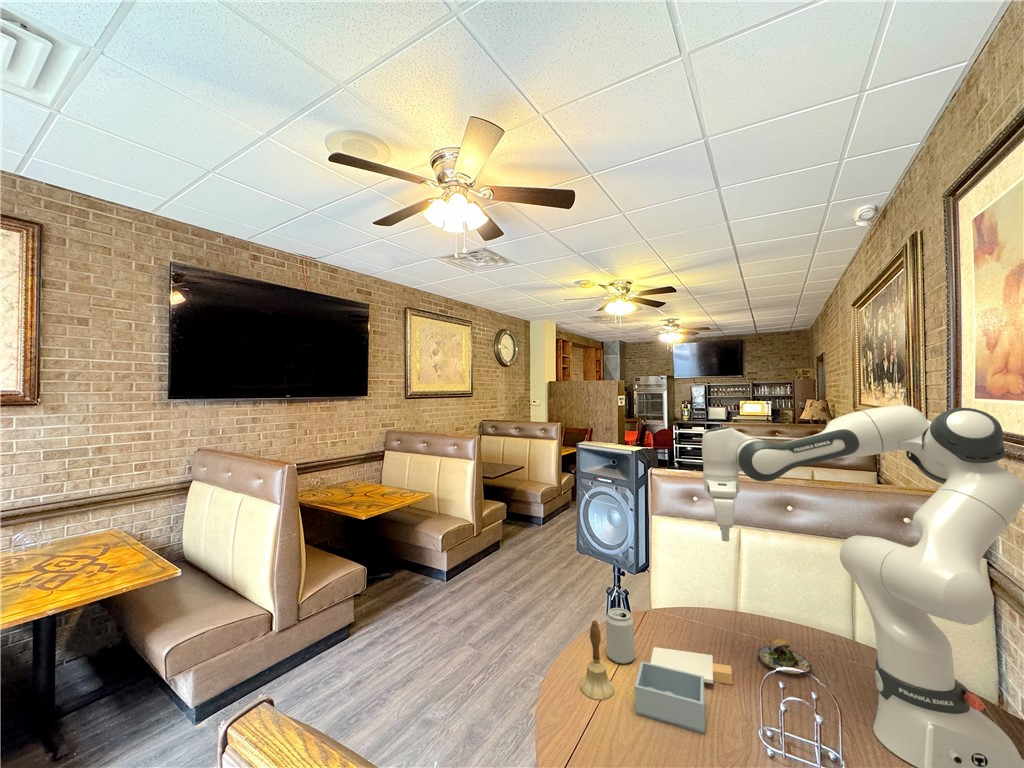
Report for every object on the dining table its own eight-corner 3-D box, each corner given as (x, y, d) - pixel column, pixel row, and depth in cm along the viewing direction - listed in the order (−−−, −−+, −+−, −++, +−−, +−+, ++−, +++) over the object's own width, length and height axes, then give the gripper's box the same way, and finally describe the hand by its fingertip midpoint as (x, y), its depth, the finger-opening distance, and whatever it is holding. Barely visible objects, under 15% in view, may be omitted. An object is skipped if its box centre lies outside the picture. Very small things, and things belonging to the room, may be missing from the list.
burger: (760, 673, 104) (759, 643, 105) (755, 648, 115) (753, 621, 115) (817, 685, 99) (815, 654, 99) (806, 658, 110) (804, 630, 110)
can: (636, 667, 107) (634, 620, 108) (607, 664, 108) (605, 618, 109) (633, 650, 114) (632, 607, 115) (606, 648, 116) (605, 605, 117)
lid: (731, 667, 105) (730, 657, 106) (734, 694, 96) (732, 683, 96) (655, 656, 114) (653, 647, 114) (650, 680, 104) (648, 669, 104)
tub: (704, 703, 93) (703, 676, 94) (704, 734, 84) (703, 704, 85) (642, 686, 99) (641, 661, 100) (635, 714, 90) (634, 686, 91)
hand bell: (617, 701, 95) (614, 630, 96) (581, 699, 95) (579, 629, 97) (611, 678, 103) (609, 613, 104) (579, 676, 104) (577, 612, 105)
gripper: (708, 478, 123) (710, 524, 122) (709, 491, 105) (713, 545, 104) (731, 479, 121) (734, 526, 120) (737, 492, 102) (741, 548, 101)
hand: (724, 535), depth 112 cm, fingers open, 8 cm apart
